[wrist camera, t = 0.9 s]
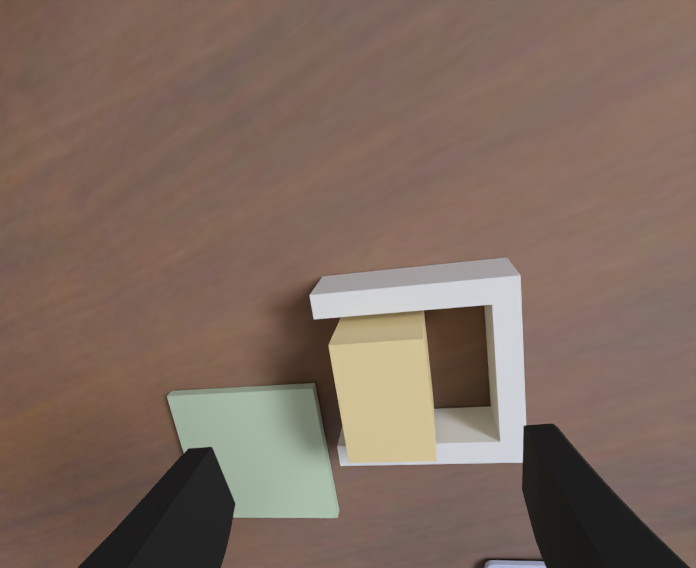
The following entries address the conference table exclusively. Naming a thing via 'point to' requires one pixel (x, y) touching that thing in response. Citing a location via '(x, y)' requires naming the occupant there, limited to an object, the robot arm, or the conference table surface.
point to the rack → (501, 335)
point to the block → (384, 387)
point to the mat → (263, 446)
